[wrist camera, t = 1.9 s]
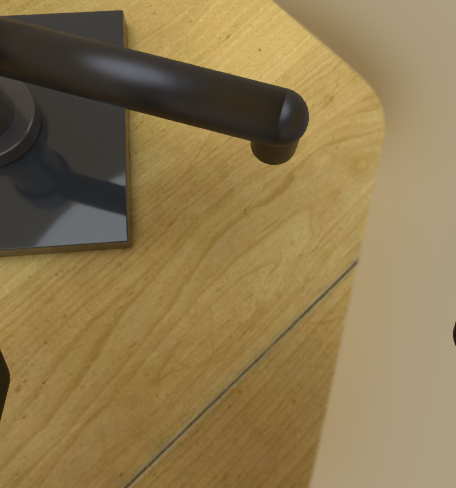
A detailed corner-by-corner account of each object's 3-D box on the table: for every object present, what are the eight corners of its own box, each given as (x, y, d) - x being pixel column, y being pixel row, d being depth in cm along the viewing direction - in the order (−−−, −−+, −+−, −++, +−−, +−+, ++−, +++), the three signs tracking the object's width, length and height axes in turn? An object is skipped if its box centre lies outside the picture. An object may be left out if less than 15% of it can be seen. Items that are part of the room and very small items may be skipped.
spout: (-140, 81, 17) (-210, 27, 14) (-97, 7, 18) (-154, -58, 15) (286, 194, 16) (301, 160, 14) (308, 109, 17) (325, 61, 14)
